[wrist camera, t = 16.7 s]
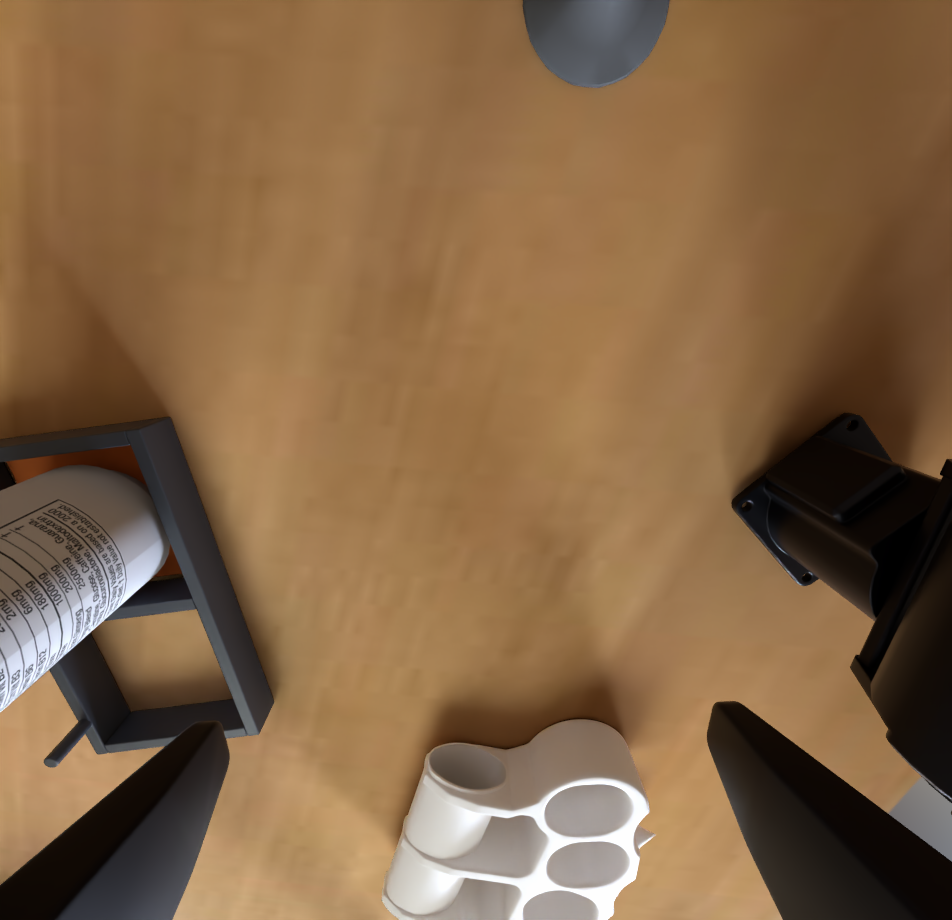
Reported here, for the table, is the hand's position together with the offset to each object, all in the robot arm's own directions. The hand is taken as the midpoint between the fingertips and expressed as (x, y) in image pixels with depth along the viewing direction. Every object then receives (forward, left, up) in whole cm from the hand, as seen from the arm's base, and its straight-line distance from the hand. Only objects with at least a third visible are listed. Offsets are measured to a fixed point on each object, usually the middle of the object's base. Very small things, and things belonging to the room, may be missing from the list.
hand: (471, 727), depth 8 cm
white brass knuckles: (-19, +14, -13) cm, 27 cm away
